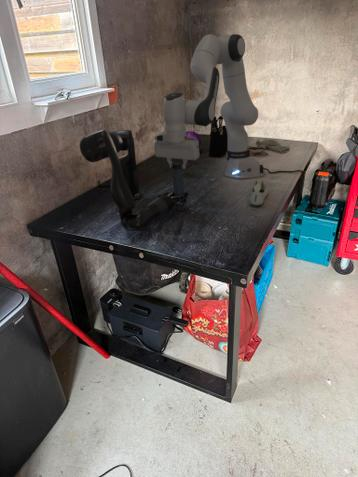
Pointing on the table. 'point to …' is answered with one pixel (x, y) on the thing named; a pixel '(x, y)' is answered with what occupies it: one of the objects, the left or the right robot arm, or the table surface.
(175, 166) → the cap
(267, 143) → the pair of gloves
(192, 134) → the decorative orb
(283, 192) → the table surface
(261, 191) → the ballet flat
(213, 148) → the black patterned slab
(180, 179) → the bottle
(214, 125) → the boot
